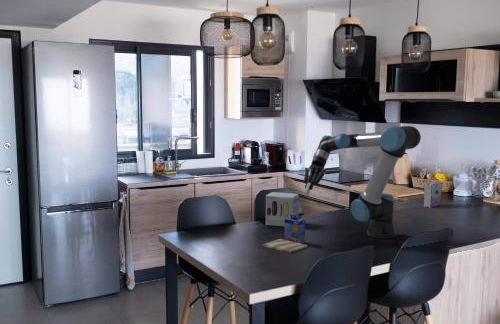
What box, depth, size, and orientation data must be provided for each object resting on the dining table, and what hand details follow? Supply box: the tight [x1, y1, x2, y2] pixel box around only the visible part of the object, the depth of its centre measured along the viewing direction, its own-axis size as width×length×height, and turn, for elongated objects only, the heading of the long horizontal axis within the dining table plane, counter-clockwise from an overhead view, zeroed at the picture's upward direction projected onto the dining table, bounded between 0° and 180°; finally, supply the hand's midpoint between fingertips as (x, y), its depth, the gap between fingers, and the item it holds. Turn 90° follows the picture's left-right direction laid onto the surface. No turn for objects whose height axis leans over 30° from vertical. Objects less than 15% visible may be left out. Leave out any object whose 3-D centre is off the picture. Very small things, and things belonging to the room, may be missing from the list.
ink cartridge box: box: [284, 215, 306, 244], centre depth 267 cm, size 10×6×14 cm, turn 51°
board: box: [261, 238, 308, 254], centre depth 259 cm, size 18×14×1 cm
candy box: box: [422, 181, 443, 209], centre depth 355 cm, size 14×6×16 cm, turn 130°
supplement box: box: [265, 191, 300, 228], centre depth 306 cm, size 17×13×18 cm
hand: (306, 193), depth 272 cm, fingers closed
